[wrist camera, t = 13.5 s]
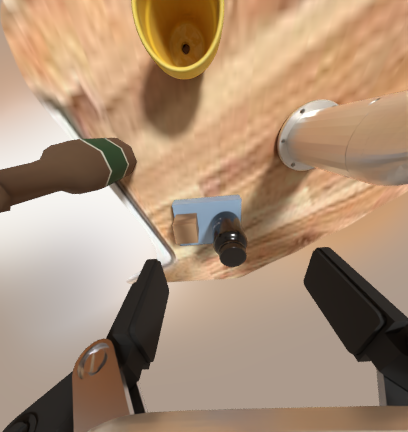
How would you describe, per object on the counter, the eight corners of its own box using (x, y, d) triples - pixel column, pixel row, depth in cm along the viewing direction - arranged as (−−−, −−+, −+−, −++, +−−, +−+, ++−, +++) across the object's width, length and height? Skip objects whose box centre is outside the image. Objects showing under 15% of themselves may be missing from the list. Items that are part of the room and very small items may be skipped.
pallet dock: (238, 194, 37) (241, 199, 34) (238, 234, 43) (240, 241, 40) (174, 200, 38) (171, 205, 35) (181, 239, 43) (180, 245, 41)
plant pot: (145, 64, 26) (116, 30, 17) (173, -18, 22) (152, -117, 13) (197, 104, 29) (194, 91, 20) (230, 38, 24) (244, -14, 16)
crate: (196, 212, 36) (195, 223, 32) (198, 230, 38) (198, 242, 34) (175, 214, 36) (172, 225, 32) (179, 231, 39) (176, 244, 34)
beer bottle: (138, 178, 35) (38, 244, 14) (103, 172, 35) (-56, 231, 13) (137, 141, 32) (1, 155, 10) (98, 133, 31) (-131, 132, 10)
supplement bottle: (210, 211, 36) (212, 243, 25) (239, 208, 36) (254, 240, 25) (212, 235, 39) (215, 272, 28) (238, 233, 39) (252, 269, 28)
